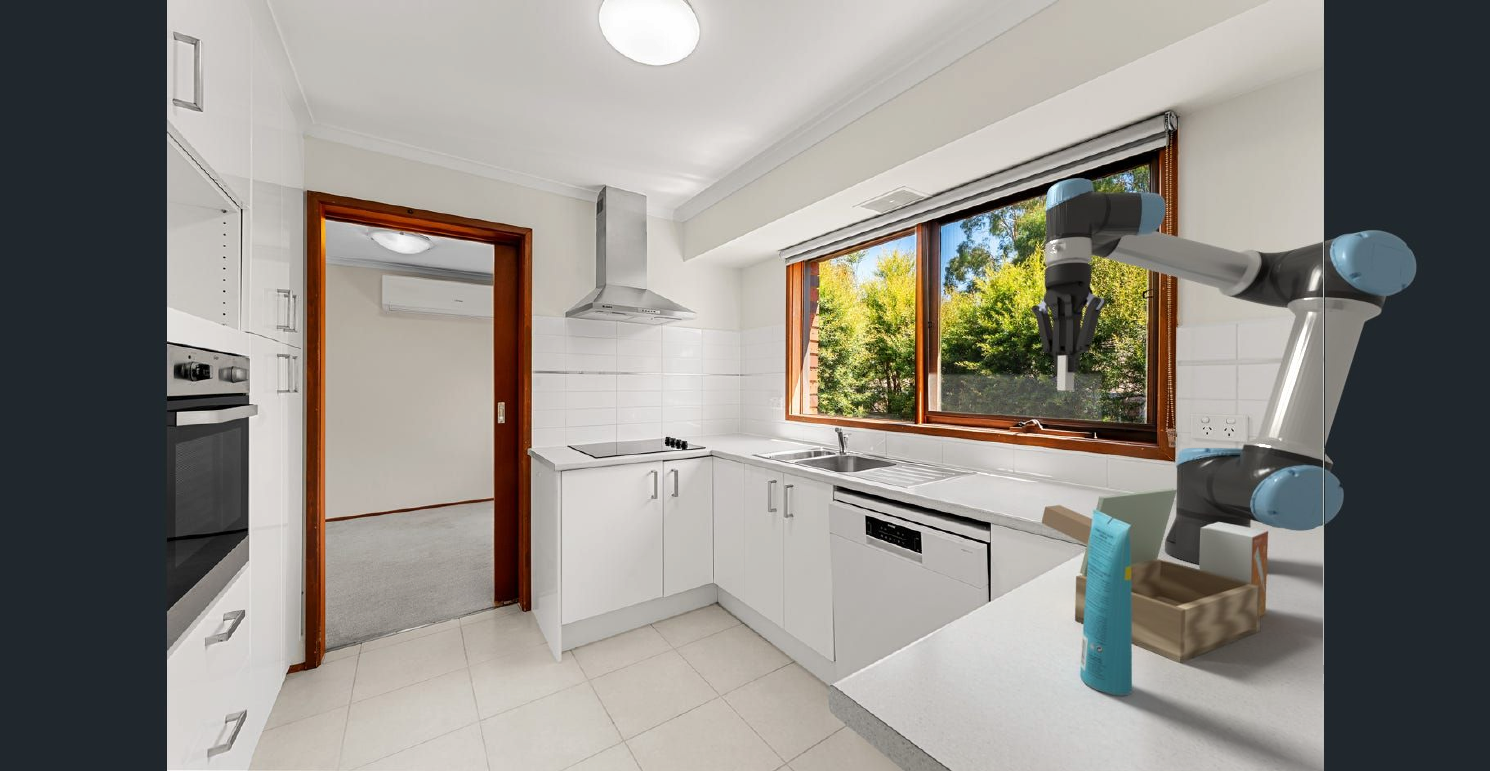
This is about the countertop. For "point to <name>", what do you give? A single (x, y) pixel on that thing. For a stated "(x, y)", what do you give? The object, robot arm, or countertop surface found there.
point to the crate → (1184, 609)
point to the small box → (1235, 554)
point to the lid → (1133, 508)
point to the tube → (1108, 608)
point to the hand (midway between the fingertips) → (1065, 390)
